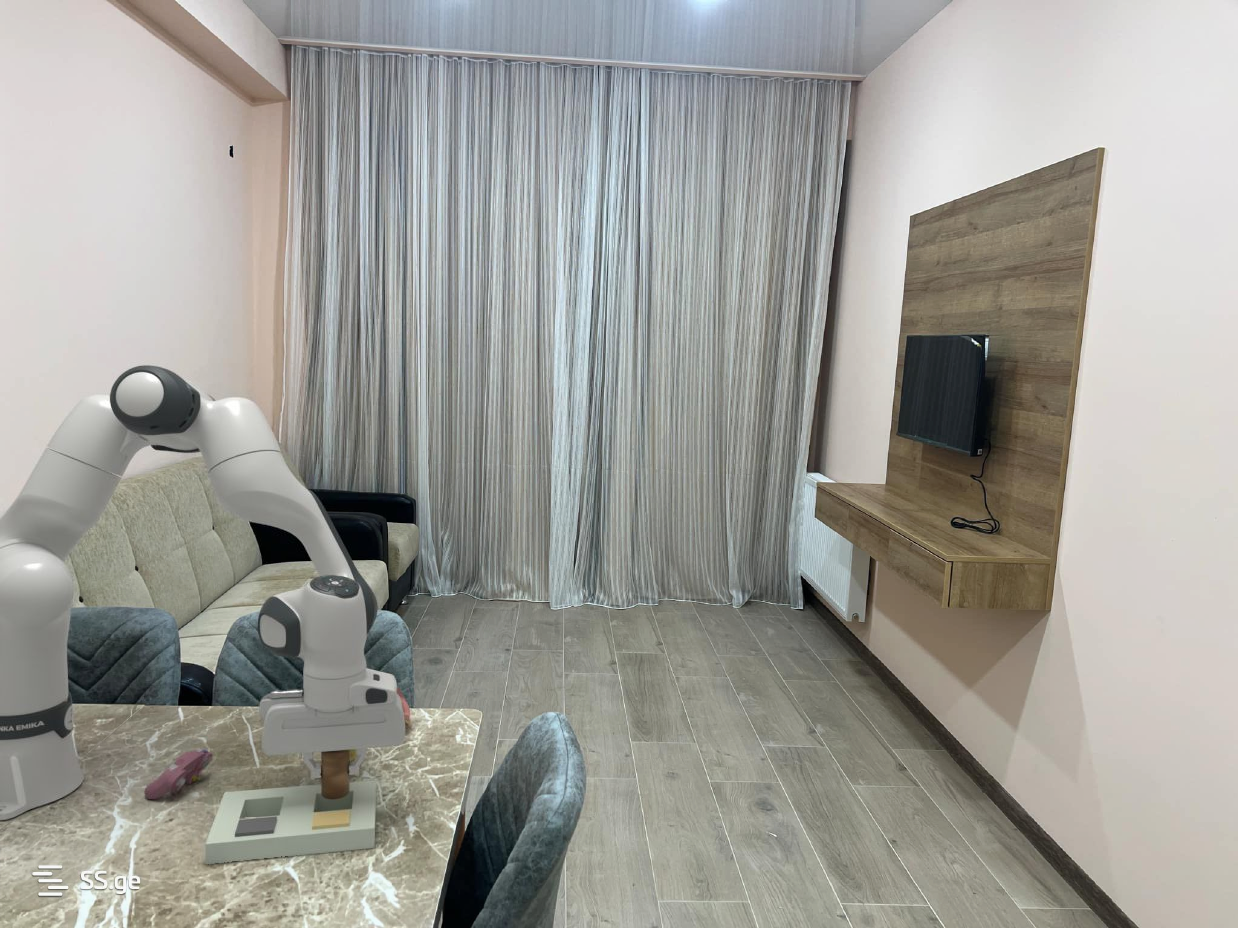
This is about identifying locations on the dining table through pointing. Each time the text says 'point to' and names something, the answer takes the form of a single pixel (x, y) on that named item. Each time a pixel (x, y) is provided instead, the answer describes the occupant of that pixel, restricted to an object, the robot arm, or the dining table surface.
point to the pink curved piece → (179, 773)
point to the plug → (335, 774)
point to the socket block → (291, 823)
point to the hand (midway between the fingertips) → (335, 775)
